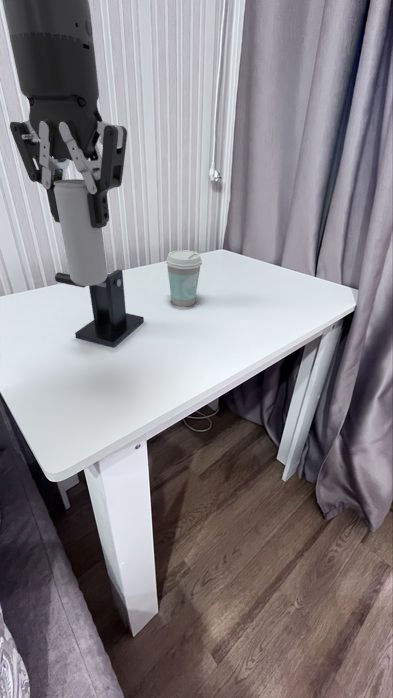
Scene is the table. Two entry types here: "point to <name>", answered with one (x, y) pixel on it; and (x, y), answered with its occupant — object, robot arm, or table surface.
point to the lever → (67, 280)
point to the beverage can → (80, 234)
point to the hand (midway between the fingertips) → (81, 223)
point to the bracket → (109, 313)
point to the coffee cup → (183, 276)
